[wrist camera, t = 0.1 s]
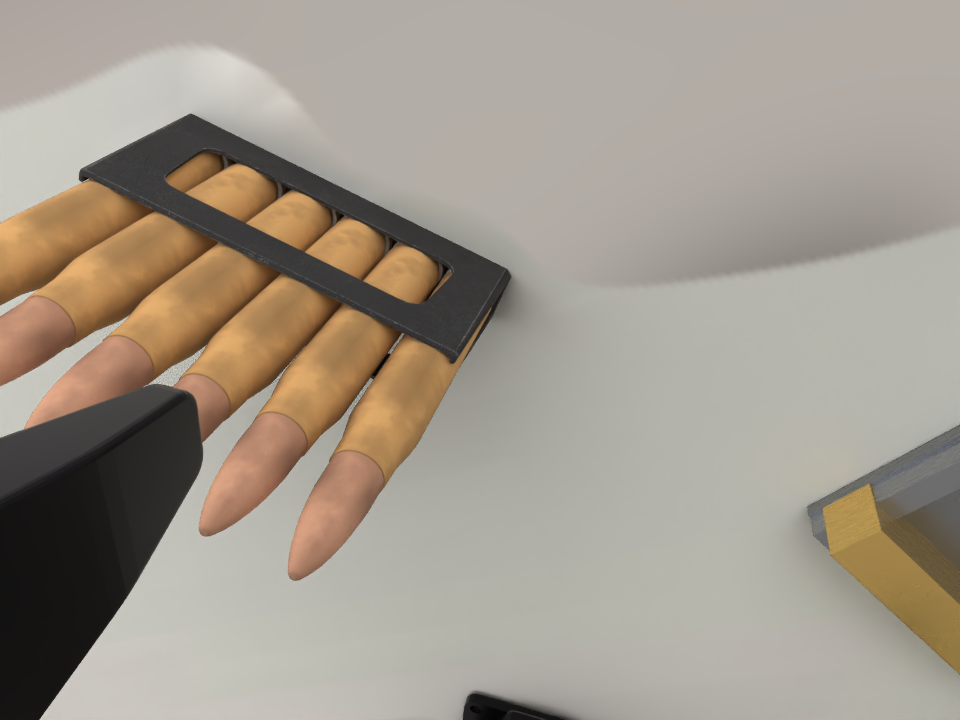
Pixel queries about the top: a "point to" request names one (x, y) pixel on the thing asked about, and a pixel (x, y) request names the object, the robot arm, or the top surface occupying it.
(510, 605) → the top surface
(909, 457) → the track
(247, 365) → the ammunition clip
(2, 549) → the robot arm
